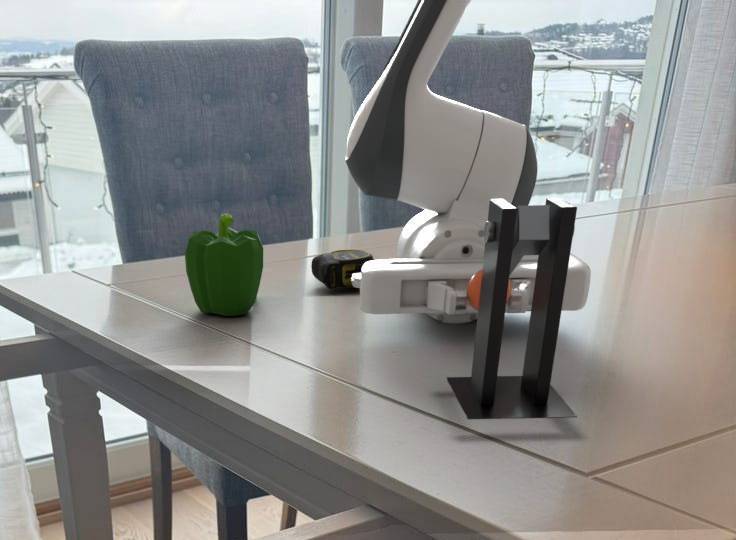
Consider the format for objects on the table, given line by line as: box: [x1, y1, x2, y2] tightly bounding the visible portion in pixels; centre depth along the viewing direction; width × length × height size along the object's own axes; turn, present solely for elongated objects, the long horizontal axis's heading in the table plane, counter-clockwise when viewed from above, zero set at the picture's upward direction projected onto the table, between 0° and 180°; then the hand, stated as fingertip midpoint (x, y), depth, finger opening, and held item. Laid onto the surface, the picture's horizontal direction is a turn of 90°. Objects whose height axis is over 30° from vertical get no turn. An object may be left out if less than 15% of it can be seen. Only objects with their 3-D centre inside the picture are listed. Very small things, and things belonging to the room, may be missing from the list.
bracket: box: [445, 197, 578, 420], centre depth 68 cm, size 10×8×15 cm
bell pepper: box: [184, 213, 264, 317], centre depth 98 cm, size 8×8×10 cm
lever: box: [467, 204, 550, 311], centre depth 71 cm, size 15×4×4 cm
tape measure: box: [311, 249, 375, 290], centre depth 108 cm, size 7×7×4 cm
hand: (488, 303), depth 77 cm, fingers closed on lever, 4 cm apart
